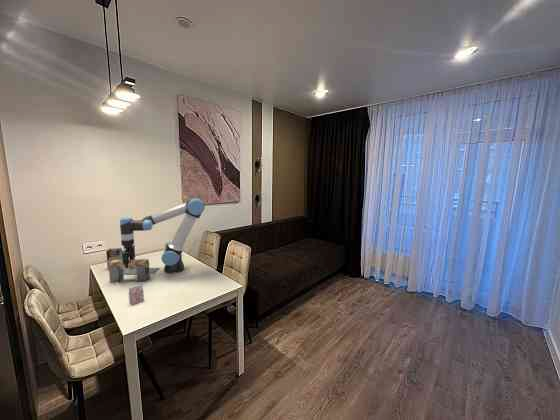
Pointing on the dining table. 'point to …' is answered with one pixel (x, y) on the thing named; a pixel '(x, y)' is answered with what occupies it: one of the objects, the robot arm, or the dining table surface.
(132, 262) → the rail
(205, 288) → the dining table surface
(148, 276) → the post
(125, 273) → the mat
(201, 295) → the dining table surface
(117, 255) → the coffee box
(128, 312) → the dining table surface
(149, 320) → the dining table surface
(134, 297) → the pink rectangular block
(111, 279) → the post
